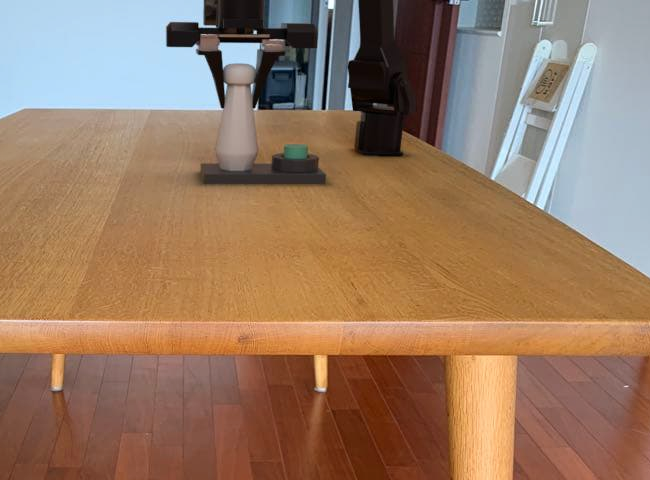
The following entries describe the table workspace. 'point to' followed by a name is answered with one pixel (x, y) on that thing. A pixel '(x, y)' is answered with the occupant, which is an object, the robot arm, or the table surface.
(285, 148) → the button
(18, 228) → the table surface
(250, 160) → the salt shaker
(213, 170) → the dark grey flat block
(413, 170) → the table surface
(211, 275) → the table surface
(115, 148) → the table surface
